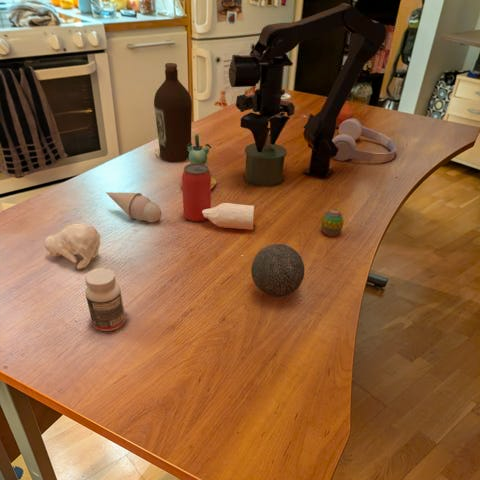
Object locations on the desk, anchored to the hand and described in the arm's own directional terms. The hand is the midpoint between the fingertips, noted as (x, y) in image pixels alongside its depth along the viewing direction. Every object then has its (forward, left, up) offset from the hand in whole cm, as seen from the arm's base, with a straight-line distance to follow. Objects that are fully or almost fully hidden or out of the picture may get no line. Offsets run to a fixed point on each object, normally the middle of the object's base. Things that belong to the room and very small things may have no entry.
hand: (266, 148), depth 125 cm
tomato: (-56, -1, -9) cm, 57 cm away
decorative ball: (+45, +28, -9) cm, 54 cm away
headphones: (-37, +16, -9) cm, 41 cm away
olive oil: (+3, -30, -9) cm, 31 cm away
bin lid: (0, 0, -1) cm, 1 cm away
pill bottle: (+70, +8, -9) cm, 71 cm away
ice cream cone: (+38, -14, -9) cm, 42 cm away
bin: (0, 0, -8) cm, 8 cm away
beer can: (+29, -2, -9) cm, 30 cm away
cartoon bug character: (+16, -12, -9) cm, 22 cm away
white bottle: (+29, +7, -9) cm, 31 cm away
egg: (+17, +28, -9) cm, 34 cm away
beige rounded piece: (+59, -12, -9) cm, 61 cm away
